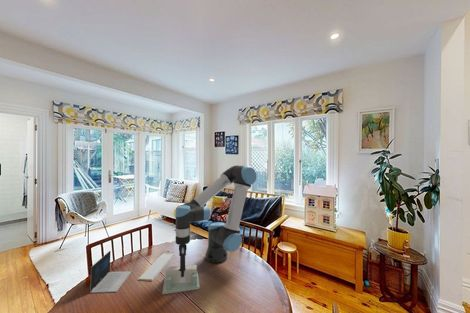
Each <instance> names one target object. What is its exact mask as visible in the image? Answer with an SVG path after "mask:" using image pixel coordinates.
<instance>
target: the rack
mask: <svg viewBox="0 0 470 313" xmlns="http://www.w3.org/2000/svg"><path fill="white" fill-rule="evenodd" d="M192 265H197V264H192ZM195 290H200V280H199V274H198V271H197V273H192V283H179V284H171V276H167V277H166V284H165V278H164V279H163V286H162V292H161V293H162V295H167V294H174V293H181V292H186V291H187V292H188V291H189V292H190V291H195Z"/></svg>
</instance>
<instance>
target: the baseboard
mask: <svg viewBox="0 0 470 313" xmlns="http://www.w3.org/2000/svg"><path fill="white" fill-rule="evenodd" d="M174 256H175V253H174V251H173V252H170V251H169V250H168V251H166V252H163V253H161V254H160V256H159V257H157V259H156V260H154V262H153V263H152V264H151V265H150V266H149V267H148V268H147V269H146V270H145V271H144V272H143V273H142V274H141V275H140V276H139V277H138V278H137V281H143V282H144V281H148V282H153V281H154V280H155V279H156V277H157V276H158V275H159V274H160V273H161V271H162V270H163V269H164V268H166V265H167V264H168V263H169V262H170V261H171V259H172V258H173V257H174Z"/></svg>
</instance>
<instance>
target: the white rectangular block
mask: <svg viewBox="0 0 470 313" xmlns="http://www.w3.org/2000/svg"><path fill="white" fill-rule="evenodd" d="M165 268H166V269H165V271H164V279H165V284H166V277H167V276H171V284H179V283H180V271H179V269H180V265H176V266H175V265H174V266H173V265H172V266H166V267H165ZM185 269H186V270H185V282H184V283H192V273H197V272H198V265H197V264H196V265H193V264H191V265H190V264H189V265H185Z"/></svg>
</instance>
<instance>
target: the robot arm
mask: <svg viewBox="0 0 470 313" xmlns="http://www.w3.org/2000/svg"><path fill="white" fill-rule="evenodd" d="M257 177H258V176H257V172H256V169H255V168H254V167H252V166H249V165H233V166H231V167H229V168H227V169H226V170H225V171H223V172H222V173H221V174H220V175H219V178H217V179H216V180H215V181H214V182H212V183H211V184H210V185H208V186H207V187H206V188H205V189H204V190H202V191H201V192H200V193H199V194H198V195H196V196H195V197H194V198H192V200H191V201H187V202H184V203H183V204H182V205H179V206H177V207H176V209H175V229H174V232H175V244H176V245H178V251H179V253H178V254H179V255H178V256H179V266H180V269H179V271H180V283H184V282H185V270H186V269H185V266H186V256H187V244H189V243H190V242H191V235H190V234H191V223H196V222H201V221H207V220H209V219H210V217H211V209H210V208H209V206H205V205H207V203H209V202H210V201H211V200H212V199H213V198H214V197H215V196H216V195H218V194H219V193H220V192H221V191H222V190H223V189H225V188H226V187H227V186H231V185H232V184H233V186H234V189H233V193H232V198H231V201H230V206H229V210H228V213H227V218H226V222H222V221H221V222H219V221H218V222H212V223H210V224H209V225H208V229H207V230H208V234H207V236H208V238H207V240H208V241H207V243H208V244H207V245H208V246H207V248H206V251H205V257H204V258H205V260H206V261H207V262H209V263H212V264H218V263H219V264H220V263H224V262H225V261H227V260H228V255H229V254H228V252H229V253H234V252H236V251H237V250H238V249H239V248H240V247H241V245H242V242H243V238H242V235H241V228H240V223H241V220H242V219H241V218H242V216H243V211H244V206H245V202H246V198H247V195H248V191H249V189H251V187H252V185H254V184H255V182H256V181H257Z"/></svg>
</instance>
